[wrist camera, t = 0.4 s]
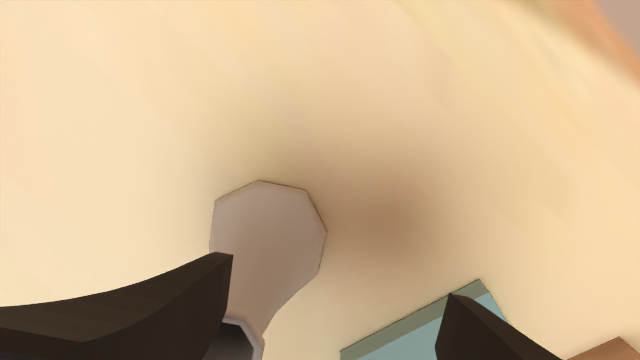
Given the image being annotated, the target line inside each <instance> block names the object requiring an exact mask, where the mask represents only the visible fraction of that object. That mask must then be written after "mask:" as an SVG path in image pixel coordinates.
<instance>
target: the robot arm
mask: <svg viewBox="0 0 640 360" xmlns="http://www.w3.org/2000/svg"><path fill="white" fill-rule="evenodd" d="M233 256H234V255H232V254H227V253H221V252H213V253H210V254H207V255H205V256H203V257H201V258H198V259H196V260H194V261H192V262H189V263H187V264H185V265H183V266H180V267H178V268H176V269H173V270H171V271H168V272H166V273H163V274H160V275H158V276H155V277H153V278H150V279H147V280H145V281H142V282H139V283H135V284H132V285H129V286H125V287H122V288H118V289H115V290H111V291H107V292H102V293H97V294H92V295H87V296H83V297H78V298H73V299H67V300H60V301H54V302H46V303H38V304H30V305H20V306H6V307H0V360H202V359H203V357H204V356H205V354H206V352H207V351H208V349H209V347H210V345H211V344H212V342H213V340H214V338H215V336H216V334H217V332H218V330H219V327H220V325H221V323H222V320H223V318H224V315H225V313H226V310H227V304H228V296H229V288H230V280H231V272H232V264H233ZM435 352H436V357H437V360H562V359H560V358H559V357H557V356H555V355H554V354H552V353H551V352H549V351H548V350H546V349H545V348H543V347H542V346H540V345H538V344H537V343H535V342H534V341H532V340H531V339H529V338H528V337H527V336H525V335H524V334H522V333H521V332H519V331H518V330H517V329H515V328H514V327H512V326H511V325H509V324H508V323H507V322H505V321H504V320H502V319H501V318H500V317H498V316H497V315H495V314H494V313H493V312H491V311H490V310H488V309H487V308H486V307H484V306H483V305H481V304H480V303H478V302H476V301H475V300H473V299H471V298H469V297H468V296H462V295H456V294H451V293H449V296H448V299H447V303H446V306H445V310H444V314H443V317H442V321H441V325H440V328H439V332H438V336H437V339H436V343H435Z"/></svg>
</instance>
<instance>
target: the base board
mask: <svg viewBox="0 0 640 360" xmlns="http://www.w3.org/2000/svg"><path fill="white" fill-rule="evenodd" d="M452 294H456V295H462V296H468V297H469V298H471V299H473V300H475V301H476V302H478V303H480V304H481V305H483V306H484V307H486V308H487V309H488V310H490V311H491V312H493V313H494V314H495V315H497V316H498V317H500V318H501V319H502V320H504V321H505V322H507V321H506V319H505V318H504V316H503V314H502V313H501V311H500V309H499V308H498V306H497V304H496V302H495V301H494V299H493V297H492V296H491V294H490V292H489V291H488V290H487V289H486V287H485V286H484V285H483V284H482V282H481V281H480V280H477V281H475V282H473V283H471V284H469V285H467V286H465V287H463V288H461V289H459V290H457V291H455V292H454V293H452ZM448 296H449V295H448ZM448 296H446V297H444V298H442V299H440V300H438V301H436V302H434V303H432V304H430V305H428V306H427V307H425V308H423V309H421V310H419V311H417V312H415V313H413V314H411V315H409V316H407V317H405V318H403V319H402V320H400V321H398V322H396V323H394V324H392V325H390V326H388V327H386V328H384V329H382V330H380V331H378V332H376V333H375V334H373V335H371V336H369V337H367V338H365V339H363V340H361V341H359V342H357V343H355V344H353V345H351V346H350V347H348V348H346V349H344V350H342V351H341V360H437V357H436V352H435V343H436V339H437V336H438V332H439V328H440V325H441V321H442V317H443V314H444V310H445V306H446V303H447V299H448Z"/></svg>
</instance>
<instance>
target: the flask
mask: <svg viewBox="0 0 640 360" xmlns="http://www.w3.org/2000/svg"><path fill="white" fill-rule="evenodd" d="M326 232H327V231H326V229H325V227H324V225H323V223H322V221H321V220H320V218H319V216H318V214H317V212H316V210H315V208H314V206H313V204H312V202H311V200H310V198H309V196H308V194H307V192H306V190H303V189H298V188H293V187H287V186H282V185H277V184H272V183H267V182H262V181H255V182H253V183H251V184H249V185H247V186H245V187H242V188H240V189H238V190H236V191H234V192H232V193H230V194H228V195H226V196H223V197H221V198H219V199H217V200H215V203H214V211H213V219H212V227H211V235H210V243H209V254H210V253H213V252H221V253H227V254H232V255H234V256H233V264H232V272H231V280H230V288H229V296H228V304H227V310H226V313H225V315H224V318H223V320H222V323H221V325H220V327H219V330H218V332H217V334H216V336H215V338H214V340H213V342H212V344H211V345H210V347H209V349H208V351H207V352H206V354H205V356H204V357H203V359H202V360H262V356H263V351H264V345H265V343H264V339H263V337H262V335H263V333H264V331H265V330H266V328H267V326H268V325H269V323H270V321H271V319H272V318H273V316H274V314H275V313H276V312H277V311H278V310H279V309H280V308H281V307H282V306H283V305H284V304H285V303H286V302H287V301H288V300H289V299H290V298H291V297H292V296H293V295H294V294H295V293H296V292H297V291H298V290H300V289H301V288H302V287H303V286H304V285H306V284H307V283H308V282H309V281H310V280H311V279H313V278H314V277H315V276H316V275H317V274H318V270H319V265H320V260H321V256H322V251H323V246H324V242H325V237H326Z"/></svg>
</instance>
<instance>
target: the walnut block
mask: <svg viewBox="0 0 640 360" xmlns="http://www.w3.org/2000/svg"><path fill="white" fill-rule="evenodd" d="M568 360H640V354H639V353H638V352H637V351H636V350H635V349H633V348H632V347H631V346H630V345H629V344H627V343H626V342H625V341H624V340H623V339H621V338H620V337H617V338H615V339H613V340H610V341H608V342H606V343H604V344H601V345H599V346H597V347H595V348H592V349H590V350H588V351H586V352H583V353H581V354H579V355H577V356H574V357H572V358H570V359H568Z"/></svg>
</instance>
